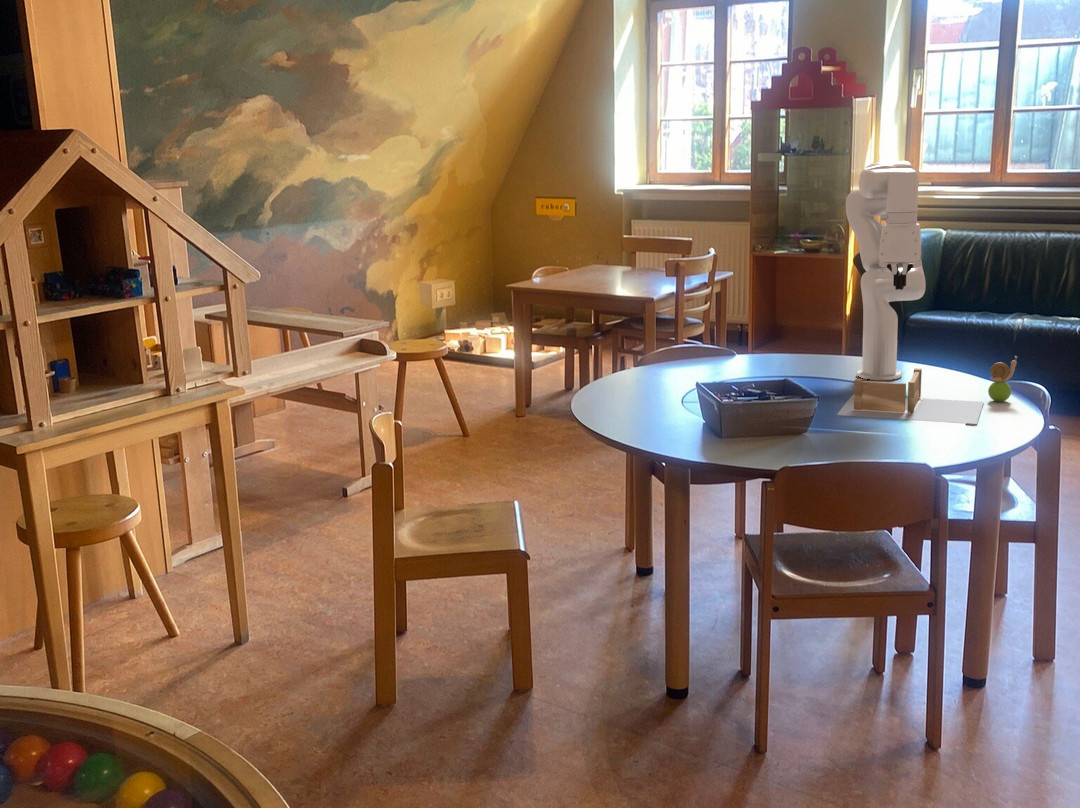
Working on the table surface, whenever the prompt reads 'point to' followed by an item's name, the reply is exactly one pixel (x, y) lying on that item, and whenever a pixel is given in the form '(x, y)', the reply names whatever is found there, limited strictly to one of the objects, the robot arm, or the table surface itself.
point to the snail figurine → (1001, 381)
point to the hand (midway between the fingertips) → (899, 288)
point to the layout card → (925, 411)
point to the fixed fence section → (879, 396)
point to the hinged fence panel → (914, 389)
